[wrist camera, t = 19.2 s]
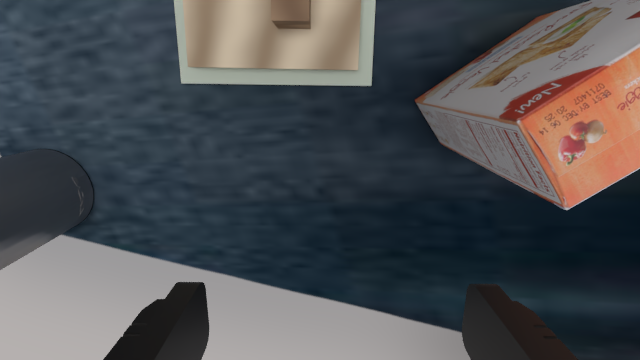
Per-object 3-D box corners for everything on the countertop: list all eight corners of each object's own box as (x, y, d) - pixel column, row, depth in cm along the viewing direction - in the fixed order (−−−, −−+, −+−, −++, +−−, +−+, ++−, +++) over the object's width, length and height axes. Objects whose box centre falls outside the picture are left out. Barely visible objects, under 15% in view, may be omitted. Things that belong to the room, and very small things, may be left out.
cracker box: (534, 12, 34) (837, -83, 14) (560, 66, 36) (871, 49, 16) (409, 97, 37) (518, 118, 16) (438, 145, 38) (572, 218, 18)
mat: (183, 83, 36) (181, 83, 36) (168, -89, 32) (165, -93, 32) (370, 85, 36) (371, 85, 36) (379, -86, 32) (379, -89, 32)
